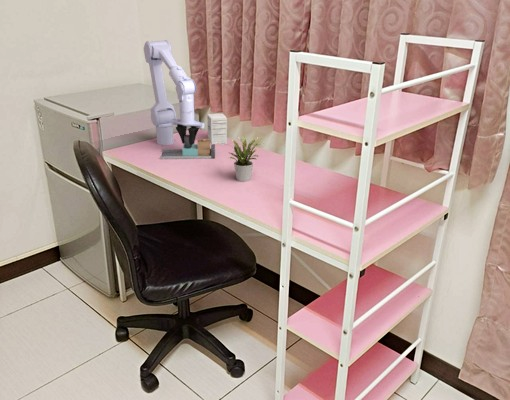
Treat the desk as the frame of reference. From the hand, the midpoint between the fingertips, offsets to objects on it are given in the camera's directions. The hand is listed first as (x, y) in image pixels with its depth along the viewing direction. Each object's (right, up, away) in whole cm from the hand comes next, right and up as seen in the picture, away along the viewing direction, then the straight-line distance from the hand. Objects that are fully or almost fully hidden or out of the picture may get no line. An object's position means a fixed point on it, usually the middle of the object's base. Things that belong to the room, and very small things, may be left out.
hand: (188, 143), depth 205 cm
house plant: (+24, -15, -19) cm, 34 cm away
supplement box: (+10, +2, +21) cm, 23 cm away
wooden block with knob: (+6, -4, +2) cm, 8 cm away
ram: (+1, -4, +2) cm, 5 cm away
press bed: (0, -5, +2) cm, 6 cm away
